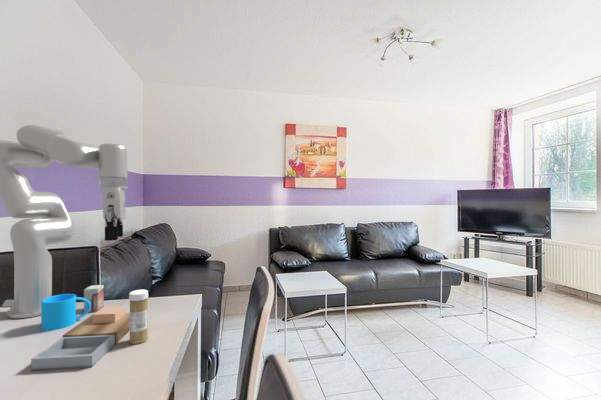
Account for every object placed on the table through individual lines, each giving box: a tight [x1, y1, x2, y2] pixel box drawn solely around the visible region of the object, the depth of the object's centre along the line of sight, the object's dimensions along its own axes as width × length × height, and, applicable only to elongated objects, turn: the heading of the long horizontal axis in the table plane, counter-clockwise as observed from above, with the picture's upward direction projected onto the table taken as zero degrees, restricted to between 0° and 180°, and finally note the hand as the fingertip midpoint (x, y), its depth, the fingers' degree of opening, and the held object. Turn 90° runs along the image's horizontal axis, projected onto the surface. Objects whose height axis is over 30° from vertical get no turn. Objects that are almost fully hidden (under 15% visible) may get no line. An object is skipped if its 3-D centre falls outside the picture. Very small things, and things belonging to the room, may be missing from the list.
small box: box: [83, 284, 105, 313], centre depth 102 cm, size 5×4×8 cm
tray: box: [30, 335, 116, 372], centre depth 72 cm, size 13×11×3 cm
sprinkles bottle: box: [128, 289, 149, 345], centre depth 80 cm, size 5×5×14 cm
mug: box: [40, 293, 91, 332], centre depth 91 cm, size 12×8×8 cm
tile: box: [92, 305, 126, 323], centre depth 87 cm, size 6×6×2 cm
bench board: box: [62, 312, 130, 345], centre depth 84 cm, size 13×14×3 cm
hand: (114, 238), depth 92 cm, fingers open, 9 cm apart
